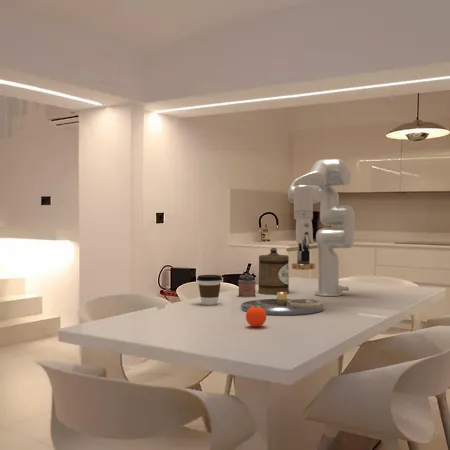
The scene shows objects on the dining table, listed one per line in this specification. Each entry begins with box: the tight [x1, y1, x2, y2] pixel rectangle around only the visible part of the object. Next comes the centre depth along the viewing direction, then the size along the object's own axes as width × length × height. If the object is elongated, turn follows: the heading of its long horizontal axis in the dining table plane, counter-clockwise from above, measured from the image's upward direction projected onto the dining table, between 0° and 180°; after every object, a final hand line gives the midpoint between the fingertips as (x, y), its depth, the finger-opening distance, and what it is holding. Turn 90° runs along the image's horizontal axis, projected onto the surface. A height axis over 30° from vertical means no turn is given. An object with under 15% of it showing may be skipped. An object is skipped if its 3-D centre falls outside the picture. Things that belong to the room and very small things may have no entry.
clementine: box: [245, 306, 267, 328], centre depth 183 cm, size 8×7×7 cm
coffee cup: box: [196, 274, 223, 306], centre depth 232 cm, size 11×11×12 cm
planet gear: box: [291, 250, 316, 271], centre depth 220 cm, size 9×9×7 cm
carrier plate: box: [240, 292, 325, 317], centre depth 219 cm, size 33×33×6 cm
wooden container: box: [258, 247, 290, 296], centre depth 268 cm, size 15×15×22 cm
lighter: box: [237, 274, 257, 298], centre depth 254 cm, size 8×3×10 cm, turn 84°
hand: (303, 260), depth 220 cm, fingers closed on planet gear, 5 cm apart
